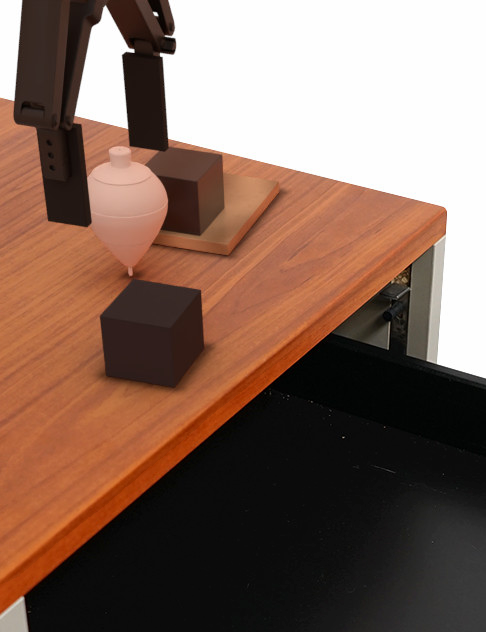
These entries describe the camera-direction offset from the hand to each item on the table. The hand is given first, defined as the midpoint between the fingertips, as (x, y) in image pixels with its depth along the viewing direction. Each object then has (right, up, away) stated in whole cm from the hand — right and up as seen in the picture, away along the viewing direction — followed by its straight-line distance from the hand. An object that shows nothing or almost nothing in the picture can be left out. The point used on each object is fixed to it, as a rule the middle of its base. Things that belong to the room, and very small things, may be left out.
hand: (111, 183), depth 96 cm
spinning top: (-7, +1, +33) cm, 34 cm away
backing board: (-3, +10, +45) cm, 46 cm away
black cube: (-2, -9, +21) cm, 23 cm away
